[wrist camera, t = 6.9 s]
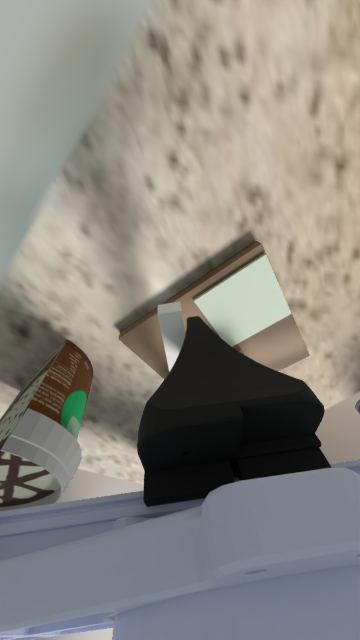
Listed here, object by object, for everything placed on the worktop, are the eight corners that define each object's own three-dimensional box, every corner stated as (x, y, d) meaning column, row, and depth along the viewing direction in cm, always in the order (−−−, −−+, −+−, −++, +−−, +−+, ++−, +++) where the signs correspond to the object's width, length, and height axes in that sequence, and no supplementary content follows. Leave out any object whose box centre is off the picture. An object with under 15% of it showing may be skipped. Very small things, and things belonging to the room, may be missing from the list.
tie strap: (187, 299, 11) (190, 310, 10) (201, 430, 18) (203, 445, 17) (150, 305, 11) (149, 316, 10) (178, 434, 18) (179, 449, 17)
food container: (66, 418, 25) (19, 533, 16) (13, 398, 22) (-75, 523, 14) (129, 362, 21) (111, 475, 13) (75, 329, 18) (5, 445, 10)
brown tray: (304, 349, 22) (346, 394, 17) (197, 402, 26) (207, 454, 21) (256, 240, 16) (303, 263, 11) (120, 332, 19) (106, 382, 14)
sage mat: (289, 312, 18) (291, 313, 18) (227, 346, 20) (228, 348, 19) (264, 253, 15) (266, 254, 15) (193, 299, 17) (193, 301, 16)
